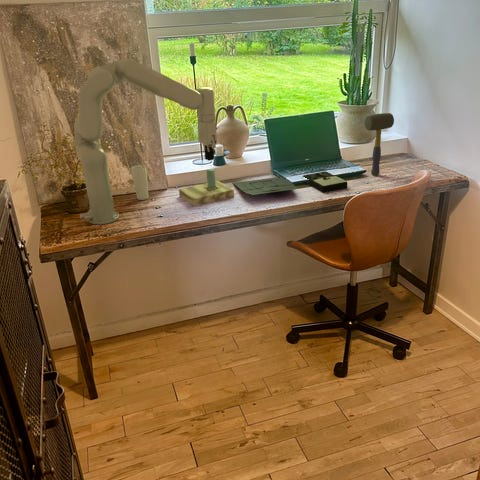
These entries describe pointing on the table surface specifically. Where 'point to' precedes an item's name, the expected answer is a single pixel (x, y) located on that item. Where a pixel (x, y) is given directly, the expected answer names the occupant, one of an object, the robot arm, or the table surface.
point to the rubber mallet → (378, 135)
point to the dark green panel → (264, 185)
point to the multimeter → (326, 182)
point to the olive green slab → (205, 193)
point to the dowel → (211, 179)
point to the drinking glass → (140, 181)
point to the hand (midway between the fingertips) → (209, 159)
